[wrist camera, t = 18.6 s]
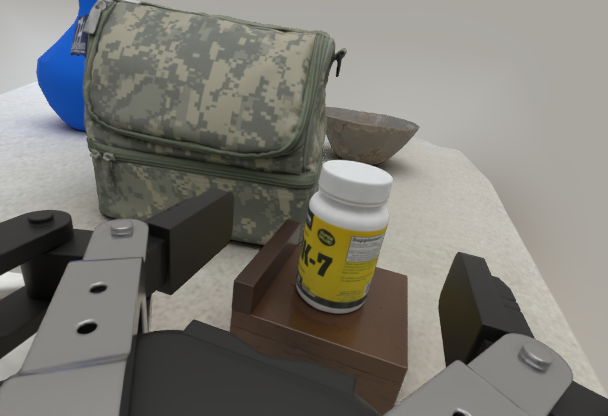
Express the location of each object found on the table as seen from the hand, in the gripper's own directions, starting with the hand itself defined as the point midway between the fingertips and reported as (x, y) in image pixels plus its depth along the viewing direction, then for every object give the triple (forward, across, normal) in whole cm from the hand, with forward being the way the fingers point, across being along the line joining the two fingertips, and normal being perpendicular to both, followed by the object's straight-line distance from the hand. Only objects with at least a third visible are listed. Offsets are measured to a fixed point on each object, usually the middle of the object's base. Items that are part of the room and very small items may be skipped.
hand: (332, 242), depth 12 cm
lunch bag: (+24, +18, +13) cm, 33 cm away
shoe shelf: (+8, 0, +13) cm, 15 cm away
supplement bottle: (+8, 0, +8) cm, 11 cm away
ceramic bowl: (+65, +6, +13) cm, 66 cm away
